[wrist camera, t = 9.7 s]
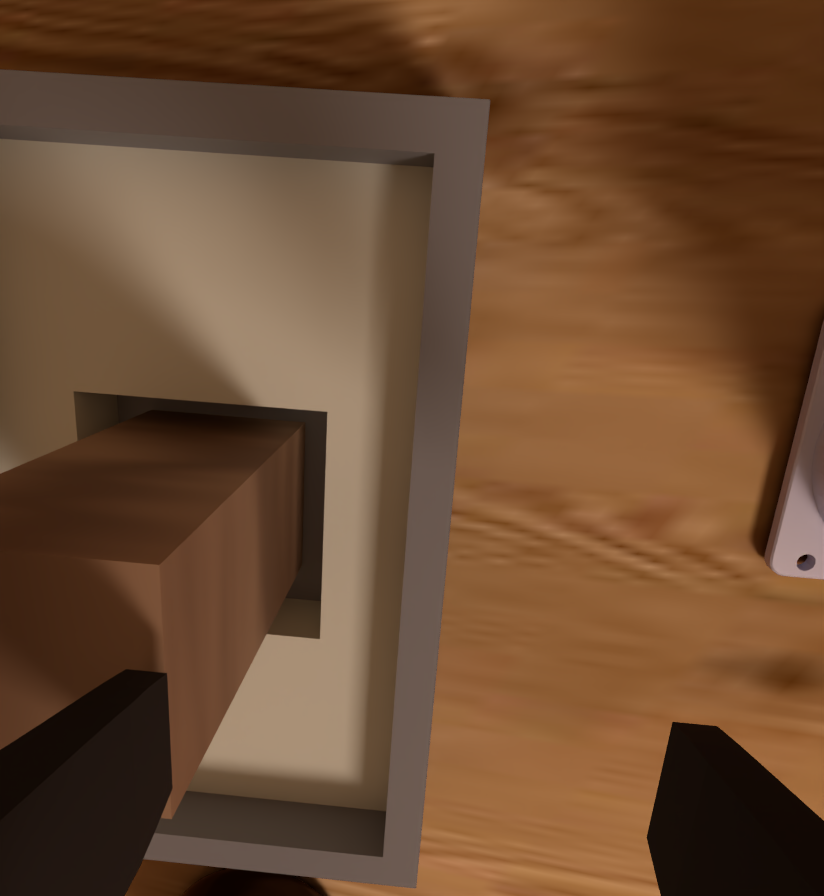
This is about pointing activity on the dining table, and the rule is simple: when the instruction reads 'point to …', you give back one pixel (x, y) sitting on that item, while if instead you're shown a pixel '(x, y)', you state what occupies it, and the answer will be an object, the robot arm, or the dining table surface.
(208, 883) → the supplement bottle
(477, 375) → the dining table surface
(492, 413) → the dining table surface
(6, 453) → the open box
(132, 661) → the wooden peg
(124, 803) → the robot arm
